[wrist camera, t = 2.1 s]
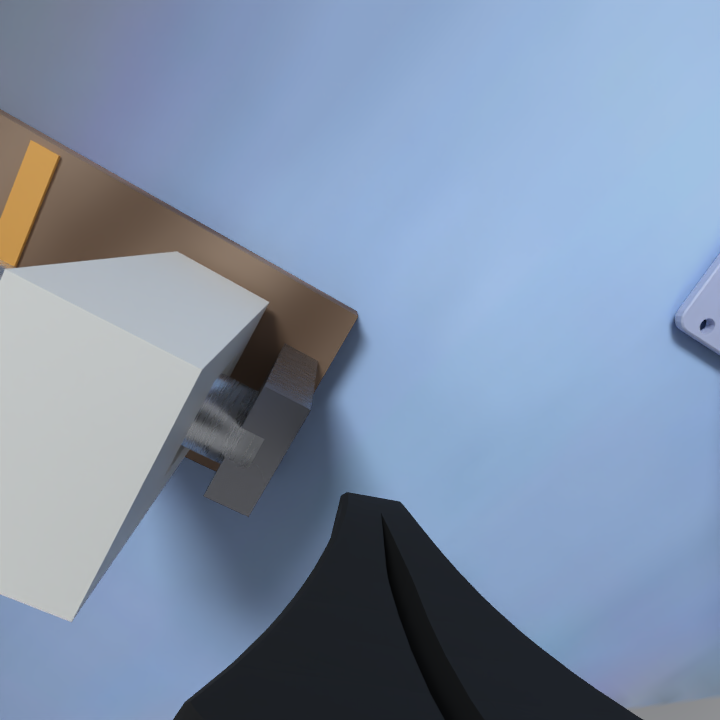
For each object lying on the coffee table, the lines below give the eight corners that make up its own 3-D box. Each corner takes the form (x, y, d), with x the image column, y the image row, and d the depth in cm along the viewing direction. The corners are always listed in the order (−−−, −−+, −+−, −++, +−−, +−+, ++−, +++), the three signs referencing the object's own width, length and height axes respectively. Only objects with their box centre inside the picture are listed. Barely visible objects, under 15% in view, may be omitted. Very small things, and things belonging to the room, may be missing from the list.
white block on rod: (269, 302, 14) (202, 369, 7) (195, 441, 15) (71, 621, 8) (177, 251, 14) (4, 269, 7) (106, 398, 15) (-108, 551, 8)
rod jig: (357, 311, 16) (367, 350, 10) (261, 476, 17) (227, 586, 12) (-103, 51, 13) (-399, -73, 8) (-171, 269, 15) (-463, 288, 9)
